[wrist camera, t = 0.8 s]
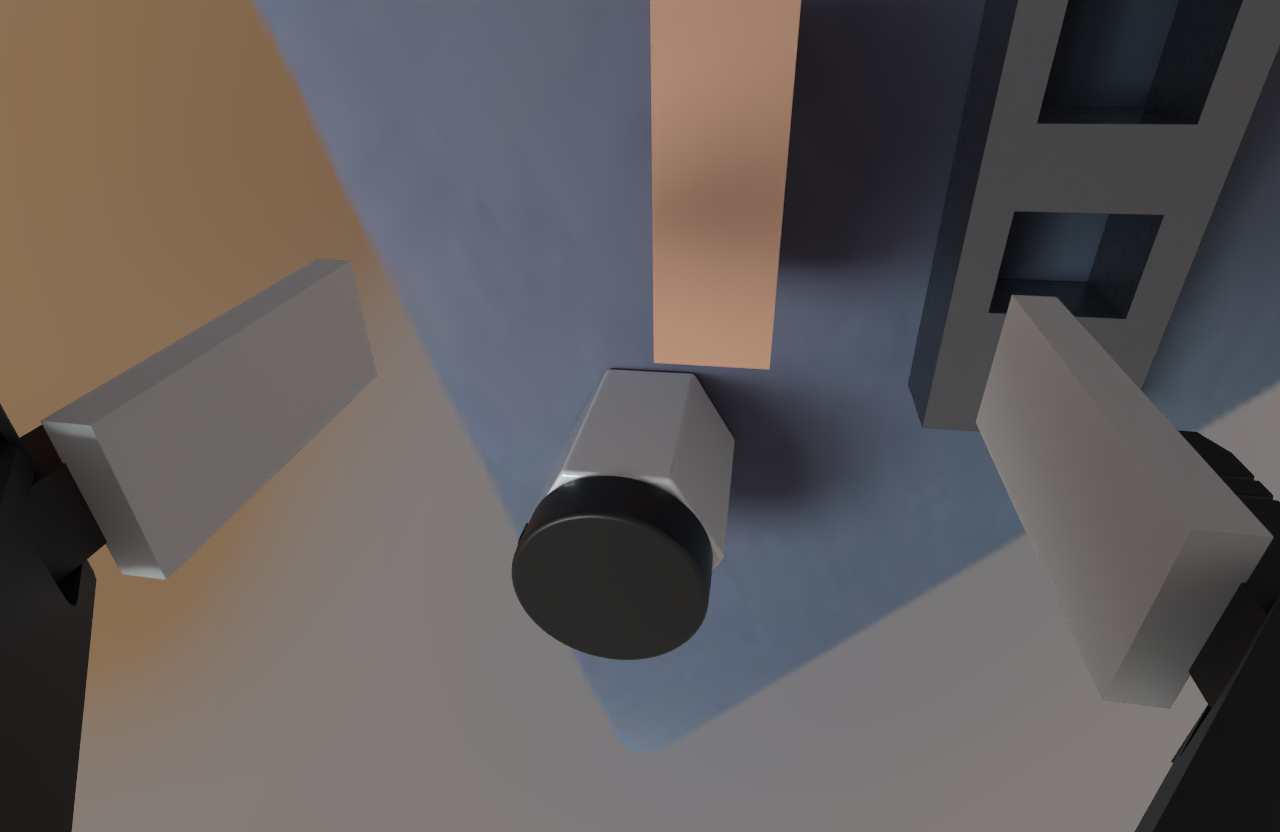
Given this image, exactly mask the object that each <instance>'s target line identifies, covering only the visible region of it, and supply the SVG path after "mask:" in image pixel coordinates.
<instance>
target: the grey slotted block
mask: <svg viewBox="0 0 1280 832" xmlns="http://www.w3.org/2000/svg"><path fill="white" fill-rule="evenodd" d="M1067 4H1068V0H986V5H985V10H984V15H983V20H982V25H981V29H980V34H979V39H978V44H977V49H976V54H975V59H974V64H973V69H972V74H971V79H970V83H969V88H968V93H967V98H966V103H965V108H964V113H963V118H962V123H961V128H960V132H959V137H958V142H957V147H956V152H955V157H954V162H953V167H952V172H951V177H950V181H949V186H948V191H947V196H946V201H945V206H944V211H943V216H942V221H941V226H940V230H939V235H938V240H937V245H936V250H935V255H934V260H933V265H932V270H931V275H930V279H929V284H928V289H927V294H926V299H925V304H924V309H923V314H922V319H921V324H920V328H919V333H918V338H917V343H916V348H915V353H914V358H913V363H912V368H911V373H910V377H909V382H908V386H909V389H910V392H911V395H912V398H913V401H914V404H915V407H916V410H917V413H918V416H919V419H920V422H921V425H922V428H935V429H949V430H964V431H978V432H980V431H979V429H978V426H977V424H976V419H977V416H978V412H979V409H980V405H981V402H982V398H983V395H984V391H985V388H986V384H987V381H988V377H989V374H990V370H991V367H992V363H993V360H994V356H995V353H996V349H997V345H998V342H999V338H1000V335H1001V331H1002V328H1003V324H1004V321H1005V317H1006V314H1007V310H1008V307H1009V303H1010V300H1011V296H1012V295H1026V296H1045V297H1057V298H1058V299H1059V300H1060V301H1061V302H1062V304H1063V305H1064V306H1065V307H1066V308H1067V309H1068V310H1069V311H1070V312H1071V314H1072V315H1073V316H1074V317H1075V318H1076V319H1077V320H1078V321H1079V322H1080V323H1081V325H1082V326H1083V327H1084V328H1085V329H1086V330H1087V331H1088V332H1089V333H1090V335H1091V336H1092V337H1093V338H1094V339H1095V340H1096V341H1097V342H1098V343H1099V344H1100V346H1101V347H1102V348H1103V349H1104V350H1105V351H1106V352H1107V353H1108V354H1109V355H1110V357H1111V358H1112V359H1113V360H1114V361H1115V362H1116V363H1117V364H1118V365H1119V367H1120V368H1121V369H1122V370H1123V371H1124V372H1125V373H1126V374H1127V375H1128V376H1129V378H1130V379H1131V380H1132V381H1133V382H1134V383H1135V384H1136V385H1137V386H1138V388H1139V389H1140V390H1141V389H1142V386H1143V384H1144V381H1145V379H1146V376H1147V374H1148V371H1149V369H1150V367H1151V364H1152V362H1153V359H1154V357H1155V354H1156V352H1157V349H1158V347H1159V344H1160V342H1161V339H1162V337H1163V334H1164V332H1165V329H1166V327H1167V324H1168V322H1169V319H1170V317H1171V314H1172V312H1173V309H1174V307H1175V304H1176V302H1177V299H1178V297H1179V294H1180V292H1181V289H1182V287H1183V285H1184V282H1185V280H1186V277H1187V275H1188V272H1189V270H1190V267H1191V265H1192V262H1193V260H1194V257H1195V255H1196V252H1197V250H1198V247H1199V245H1200V242H1201V240H1202V237H1203V235H1204V232H1205V230H1206V227H1207V225H1208V222H1209V220H1210V217H1211V215H1212V212H1213V210H1214V207H1215V205H1216V203H1217V200H1218V198H1219V195H1220V193H1221V190H1222V188H1223V185H1224V183H1225V180H1226V178H1227V175H1228V173H1229V170H1230V168H1231V165H1232V163H1233V160H1234V158H1235V155H1236V153H1237V150H1238V148H1239V145H1240V143H1241V140H1242V138H1243V135H1244V133H1245V130H1246V128H1247V125H1248V123H1249V121H1250V118H1251V116H1252V113H1253V111H1254V108H1255V106H1256V103H1257V101H1258V98H1259V96H1260V93H1261V91H1262V88H1263V86H1264V83H1265V81H1266V78H1267V76H1268V73H1269V71H1270V68H1271V66H1272V63H1273V61H1274V58H1275V56H1276V53H1277V51H1278V48H1279V46H1280V0H1180V1H1179V4H1178V7H1177V10H1176V13H1175V16H1174V19H1173V22H1172V25H1171V28H1170V31H1169V34H1168V37H1167V40H1166V43H1165V47H1164V50H1163V53H1162V56H1161V59H1160V62H1159V65H1158V68H1157V71H1156V74H1155V77H1154V80H1153V83H1152V86H1151V89H1150V92H1149V95H1148V99H1147V102H1146V105H1145V107H1041V105H1042V102H1043V98H1044V94H1045V90H1046V86H1047V82H1048V78H1049V74H1050V70H1051V66H1052V63H1053V59H1054V55H1055V51H1056V47H1057V43H1058V39H1059V35H1060V31H1061V27H1062V24H1063V20H1064V16H1065V12H1066V8H1067ZM1014 211H1022V212H1064V213H1106V214H1110V215H1109V218H1108V221H1107V224H1106V227H1105V230H1104V233H1103V236H1102V239H1101V242H1100V245H1099V248H1098V251H1097V254H1096V257H1095V261H1094V264H1093V267H1092V270H1091V273H1090V276H1089V279H1088V282H1066V281H1039V280H1012V279H997V277H998V273H999V269H1000V265H1001V262H1002V258H1003V254H1004V250H1005V246H1006V242H1007V238H1008V234H1009V230H1010V226H1011V223H1012V219H1013V215H1014Z"/></svg>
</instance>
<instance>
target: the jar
mask: <svg viewBox="0 0 1280 832" xmlns="http://www.w3.org/2000/svg"><path fill="white" fill-rule="evenodd" d="M734 445H735V440H734V438H733V436H732V435H731V433H730V431H729V430H728V428H727V427H726V425H725V423H724V422H723V420H722V418H721V417H720V415H719V414H718V412H717V410H716V409H715V407H714V405H713V404H712V402H711V401H710V399H709V397H708V396H707V394H706V392H705V391H704V389H703V388H702V386H701V384H700V383H699V381H698V379H697V378H696V376H695V375H693V374H689V373H670V372H651V371H632V370H613V369H609V370H607V371H606V372H605V374H604V375H603V377H602V379H601V380H600V382H599V384H598V385H597V387H596V389H595V390H594V392H593V394H592V395H591V397H590V399H589V400H588V402H587V404H586V405H585V407H584V409H583V410H582V412H581V414H580V416H579V417H578V419H577V421H576V422H575V424H574V426H573V427H572V429H571V431H570V433H569V435H568V438H567V440H566V442H565V444H564V446H563V448H562V450H561V453H560V455H559V457H558V459H557V461H556V463H555V465H554V467H553V470H552V472H551V474H550V476H549V478H548V480H547V482H546V485H545V487H544V489H543V491H542V493H541V495H540V497H539V500H538V502H537V504H536V506H535V508H534V510H533V512H532V515H531V517H530V519H529V521H528V523H526V525H525V527H524V530H523V532H522V534H521V536H520V538H519V541H518V546H517V549H516V552H515V554H514V558H513V562H512V581H513V586H514V589H515V592H516V595H517V597H518V599H519V601H520V603H521V605H522V606H523V608H524V610H525V611H526V613H527V614H528V615H529V616H530V618H531V619H532V620H533V621H534V622H535V623H536V624H537V625H538V626H539V627H540V628H541V629H542V630H544V631H545V632H546V633H548V634H549V635H551V636H552V637H553V638H555V639H556V640H558V641H560V642H562V643H563V644H565V645H567V646H569V647H571V648H574V649H576V650H579V651H581V652H584V653H587V654H590V655H594V656H598V657H603V658H609V659H618V660H637V659H645V658H651V657H655V656H659V655H662V654H665V653H668V652H670V651H672V650H674V649H676V648H678V647H679V646H681V645H682V644H684V643H685V642H687V641H688V640H689V639H690V638H691V637H692V636H693V635H694V634H695V633H696V632H697V630H698V629H699V627H700V626H701V624H702V622H703V620H704V618H705V615H706V612H707V608H708V602H709V593H710V584H711V575H712V571H713V570H714V569H715V568H716V566H717V565H718V564H719V563H720V562H721V561H722V560H723V558H724V551H725V540H726V529H727V519H728V508H729V498H730V487H731V476H732V466H733V455H734Z"/></svg>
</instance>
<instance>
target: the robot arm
mask: <svg viewBox="0 0 1280 832" xmlns="http://www.w3.org/2000/svg"><path fill="white" fill-rule="evenodd" d="M376 377H377V374H376V370H375V365H374V361H373V357H372V352H371V348H370V343H369V339H368V335H367V330H366V326H365V321H364V317H363V313H362V308H361V304H360V299H359V295H358V291H357V287H356V282H355V278H354V273H353V269H352V265H351V261H350V260H330V259H316V260H314V261H313V262H311V263H309V264H308V265H306V266H304V267H302V268H301V269H299V270H297V271H296V272H294V273H292V274H291V275H289V276H287V277H285V278H284V279H282V280H280V281H279V282H277V283H275V284H273V285H272V286H270V287H269V288H267V289H265V290H263V291H261V292H260V293H258V294H256V295H255V296H253V297H251V298H249V299H248V300H246V301H244V302H243V303H241V304H239V305H238V306H236V307H234V308H232V309H231V310H229V311H227V312H226V313H224V314H222V315H220V316H219V317H217V318H215V319H214V320H212V321H210V322H208V323H207V324H206V325H203V326H202V327H200V328H198V329H197V330H195V331H193V332H191V333H190V334H188V335H186V336H185V337H183V338H181V339H180V340H178V341H176V342H174V343H173V344H171V345H169V346H167V347H166V348H164V349H162V350H161V351H159V352H157V353H156V354H154V355H152V356H150V357H149V358H147V359H145V360H144V361H142V362H140V363H139V364H137V365H135V366H133V367H132V368H130V369H128V370H127V371H125V372H123V373H121V374H120V375H118V376H117V377H115V378H113V379H111V380H109V381H108V382H106V383H104V384H103V385H101V386H99V387H98V388H96V389H94V390H92V391H91V392H89V393H87V394H86V395H84V396H82V397H80V398H79V399H77V400H75V401H74V402H72V403H70V404H68V405H67V406H65V407H63V408H62V409H60V410H58V411H57V412H55V413H53V414H52V415H50V416H48V417H46V418H45V419H43V420H41V423H42V425H41V426H39V427H37V428H36V429H34V430H32V431H31V432H29V433H27V434H25V435H24V436H22V437H20V438H19V437H18V435H17V433H16V431H15V429H14V428H13V426H12V424H11V423H10V420H9V419H8V417H7V415H6V413H5V412H4V410H3V408H2V406H1V404H0V832H71V830H72V821H73V811H74V801H75V791H76V780H77V770H78V760H79V750H80V740H81V730H82V720H83V719H82V718H83V710H84V700H85V689H86V679H87V669H88V658H89V649H90V638H91V629H92V619H93V608H94V598H95V588H96V577H95V574H94V571H93V569H92V568H91V566H90V564H89V562H88V561H87V559H88V558H89V557H90V556H91V555H93V554H94V553H95V552H96V551H97V550H99V549H100V548H101V547H102V546H103V545H105V544H106V545H107V547H108V549H109V551H110V553H111V555H112V557H113V559H114V560H115V562H116V564H117V566H118V568H119V570H120V572H121V574H126V575H134V576H141V577H149V578H157V579H165V580H166V579H167V578H168V577H169V576H170V575H171V574H172V573H173V572H175V571H176V570H177V569H178V568H179V567H180V566H181V565H182V564H183V563H184V562H185V561H186V560H187V559H188V558H189V557H190V556H191V555H192V554H193V553H194V552H195V551H196V550H197V549H198V548H199V547H200V546H201V545H203V544H204V543H205V542H206V540H208V539H209V538H210V537H211V536H212V535H213V534H214V533H215V532H216V531H217V530H218V529H219V528H220V527H221V526H222V525H223V524H224V523H225V522H226V521H227V520H228V519H229V518H230V517H232V516H233V515H234V514H235V513H236V512H237V511H238V510H239V509H240V508H241V507H242V506H243V505H244V504H245V503H246V502H247V501H248V500H249V499H250V498H251V497H252V496H253V495H254V494H255V493H256V492H257V491H258V490H260V489H261V488H262V487H263V486H264V485H265V484H266V483H267V482H268V481H269V480H270V479H271V478H272V477H273V476H274V475H275V474H276V473H277V472H278V471H279V470H280V469H281V468H282V467H283V466H284V465H285V464H286V463H287V462H288V461H290V460H291V459H292V458H293V457H294V455H296V454H297V453H298V452H299V451H300V450H301V449H302V448H303V447H304V446H305V445H306V444H307V443H308V442H309V441H310V440H311V439H312V438H313V437H314V436H315V435H316V434H318V432H320V431H321V430H322V429H323V428H324V427H325V426H326V425H327V424H328V423H329V422H330V421H331V420H332V419H333V418H334V417H335V416H336V415H337V414H338V413H339V412H340V411H341V410H342V409H343V408H344V407H345V406H346V405H348V403H350V401H352V400H353V399H354V398H355V397H356V396H357V395H358V394H359V393H360V392H361V391H362V390H363V389H364V388H365V387H366V386H367V385H368V384H369V383H370V382H371V381H372V380H373V379H375V378H376ZM976 424H977V426H978V429H979V431H980V433H981V435H982V437H983V439H984V442H985V444H986V446H987V448H988V450H989V453H990V455H991V457H992V459H993V461H994V464H995V466H996V468H997V470H998V472H999V474H1000V477H1001V479H1002V481H1003V483H1004V485H1005V488H1006V490H1007V492H1008V494H1009V496H1010V499H1011V501H1012V503H1013V505H1014V507H1015V510H1016V512H1017V514H1018V516H1019V518H1020V520H1021V523H1022V525H1023V527H1024V529H1025V531H1026V534H1027V536H1028V538H1029V540H1030V542H1031V544H1032V547H1033V549H1034V551H1035V553H1036V555H1037V558H1038V560H1039V562H1040V564H1041V566H1042V569H1043V571H1044V573H1045V575H1046V577H1047V579H1048V582H1049V584H1050V586H1051V588H1052V590H1053V593H1054V595H1055V597H1056V599H1057V601H1058V604H1059V606H1060V608H1061V610H1062V612H1063V614H1064V617H1065V619H1066V621H1067V623H1068V625H1069V628H1070V630H1071V632H1072V634H1073V637H1074V639H1075V641H1076V643H1077V645H1078V647H1079V649H1080V652H1081V654H1082V656H1083V658H1084V661H1085V663H1086V665H1087V667H1088V669H1089V672H1090V674H1091V676H1092V678H1093V680H1094V682H1095V685H1096V687H1097V689H1098V691H1099V693H1100V696H1101V698H1102V700H1106V701H1114V702H1122V703H1130V704H1138V705H1145V706H1153V707H1161V708H1169V709H1170V708H1171V706H1172V704H1173V703H1174V701H1175V699H1176V698H1177V696H1178V695H1179V693H1180V691H1181V690H1182V688H1183V686H1184V685H1185V683H1186V681H1187V680H1188V678H1189V676H1190V675H1191V676H1192V678H1193V680H1194V681H1195V683H1196V685H1197V686H1198V688H1199V690H1200V691H1201V693H1202V695H1203V696H1204V698H1205V700H1206V701H1207V703H1208V705H1207V707H1206V709H1205V710H1204V712H1203V713H1202V715H1201V716H1200V718H1199V719H1198V721H1197V722H1196V724H1195V726H1194V727H1193V729H1192V730H1191V732H1190V733H1189V735H1188V736H1187V738H1186V740H1185V741H1184V742H1183V744H1182V746H1181V747H1180V749H1179V750H1178V752H1177V754H1176V755H1175V756H1174V758H1173V759H1172V761H1171V762H1173V765H1172V767H1171V768H1170V770H1169V772H1168V774H1167V775H1166V777H1165V779H1164V781H1163V782H1162V784H1161V786H1160V788H1159V789H1158V791H1157V793H1156V795H1155V797H1154V798H1153V800H1152V802H1151V804H1150V805H1149V807H1148V809H1147V811H1146V812H1145V814H1144V816H1143V818H1142V820H1141V821H1140V823H1139V825H1138V827H1137V829H1136V830H1135V832H1280V502H1279V501H1276V500H1273V495H1272V494H1271V493H1270V492H1269V491H1268V490H1267V489H1266V488H1265V487H1264V486H1263V484H1261V482H1259V481H1254V476H1253V474H1252V473H1251V472H1250V471H1249V470H1248V469H1247V468H1246V467H1245V466H1244V465H1243V464H1242V463H1241V462H1240V461H1239V460H1238V459H1237V458H1236V457H1235V456H1234V455H1233V454H1232V453H1231V452H1229V451H1227V450H1226V449H1224V448H1222V447H1221V446H1219V445H1217V444H1216V443H1214V442H1212V441H1211V440H1209V439H1207V438H1205V437H1204V436H1202V435H1201V434H1199V433H1197V432H1190V431H1177V429H1176V428H1175V427H1174V426H1173V425H1172V424H1171V423H1170V422H1169V421H1168V420H1167V418H1166V417H1165V416H1164V415H1163V414H1162V413H1161V412H1160V411H1159V410H1158V409H1157V407H1156V406H1155V405H1154V404H1153V403H1152V402H1151V401H1150V400H1149V399H1148V397H1147V396H1146V395H1145V394H1144V393H1143V392H1142V391H1141V390H1140V389H1139V388H1138V386H1137V385H1136V384H1135V383H1134V382H1133V381H1132V380H1131V379H1130V378H1129V376H1128V375H1127V374H1126V373H1125V372H1124V371H1123V370H1122V369H1121V368H1120V367H1119V365H1118V364H1117V363H1116V362H1115V361H1114V360H1113V359H1112V358H1111V357H1110V355H1109V354H1108V353H1107V352H1106V351H1105V350H1104V349H1103V348H1102V347H1101V346H1100V344H1099V343H1098V342H1097V341H1096V340H1095V339H1094V338H1093V337H1092V336H1091V335H1090V333H1089V332H1088V331H1087V330H1086V329H1085V328H1084V327H1083V326H1082V325H1081V323H1080V322H1079V321H1078V320H1077V319H1076V318H1075V317H1074V316H1073V315H1072V314H1071V312H1070V311H1069V310H1068V309H1067V308H1066V307H1065V306H1064V305H1063V304H1062V302H1061V301H1060V300H1059V299H1058V298H1057V297H1045V296H1026V295H1012V296H1011V300H1010V303H1009V307H1008V310H1007V314H1006V317H1005V321H1004V324H1003V328H1002V331H1001V335H1000V338H999V342H998V345H997V349H996V353H995V356H994V360H993V363H992V367H991V370H990V374H989V377H988V381H987V384H986V388H985V391H984V395H983V398H982V402H981V405H980V409H979V412H978V416H977V419H976Z"/></svg>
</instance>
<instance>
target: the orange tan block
mask: <svg viewBox="0 0 1280 832" xmlns="http://www.w3.org/2000/svg"><path fill="white" fill-rule="evenodd" d="M800 8H801V0H650V22H651V121H652V220H653V319H654V363H667V364H684V365H701V366H718V367H735V368H752V369H770V357H771V346H772V334H773V322H774V311H775V299H776V287H777V276H778V264H779V253H780V241H781V229H782V218H783V206H784V194H785V183H786V171H787V160H788V148H789V136H790V125H791V113H792V101H793V90H794V78H795V67H796V55H797V43H798V32H799V20H800Z"/></svg>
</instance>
